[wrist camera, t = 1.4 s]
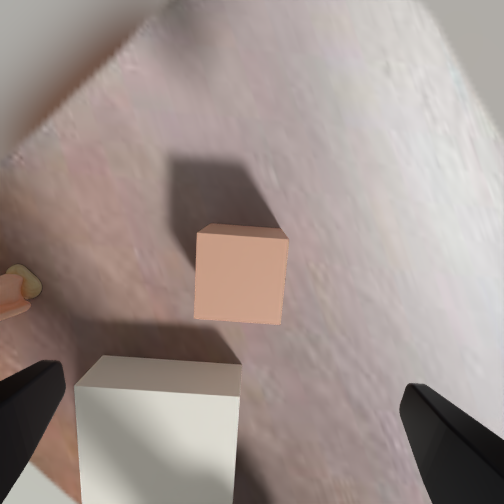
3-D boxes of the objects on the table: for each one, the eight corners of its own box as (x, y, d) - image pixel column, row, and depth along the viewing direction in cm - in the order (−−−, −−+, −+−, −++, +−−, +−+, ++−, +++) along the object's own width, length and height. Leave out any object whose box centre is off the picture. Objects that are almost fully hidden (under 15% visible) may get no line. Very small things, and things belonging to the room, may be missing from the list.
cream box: (234, 473, 25) (231, 526, 21) (110, 465, 25) (82, 516, 21) (242, 361, 23) (239, 396, 19) (105, 352, 23) (74, 385, 19)
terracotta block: (274, 294, 21) (280, 324, 16) (208, 289, 21) (194, 318, 16) (280, 228, 20) (289, 239, 15) (210, 223, 20) (196, 232, 15)
